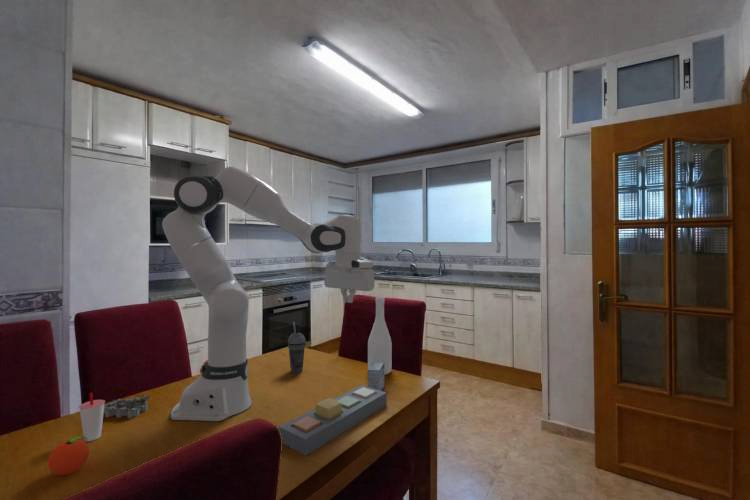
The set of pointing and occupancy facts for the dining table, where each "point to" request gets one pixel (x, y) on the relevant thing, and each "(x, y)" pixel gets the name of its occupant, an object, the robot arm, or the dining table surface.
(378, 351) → the grey bottle
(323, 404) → the button mustard
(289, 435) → the tray
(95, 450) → the dining table surface
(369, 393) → the button cream
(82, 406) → the cup
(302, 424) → the button terracotta
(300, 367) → the beverage cup
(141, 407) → the egg carton
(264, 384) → the dining table surface
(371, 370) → the medicine box
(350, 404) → the button sage
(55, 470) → the clementine
